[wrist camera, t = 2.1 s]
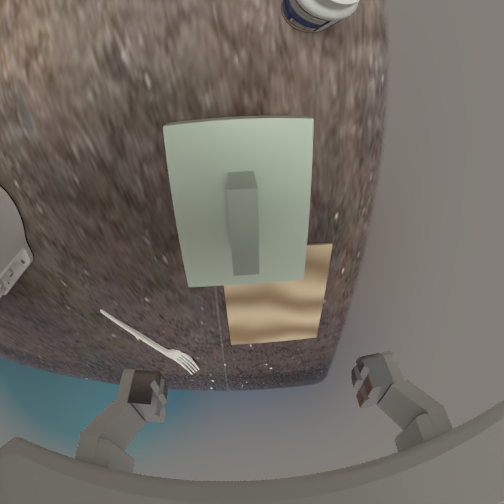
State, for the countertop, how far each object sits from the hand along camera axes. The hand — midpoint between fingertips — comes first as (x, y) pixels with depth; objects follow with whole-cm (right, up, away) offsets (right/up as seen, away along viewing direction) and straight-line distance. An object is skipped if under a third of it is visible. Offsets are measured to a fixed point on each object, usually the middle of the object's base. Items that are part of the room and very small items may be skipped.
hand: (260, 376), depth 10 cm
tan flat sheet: (+3, -2, +29) cm, 29 cm away
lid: (-1, +10, +15) cm, 18 cm away
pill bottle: (+5, +29, +9) cm, 31 cm away
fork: (-17, -10, +33) cm, 39 cm away
